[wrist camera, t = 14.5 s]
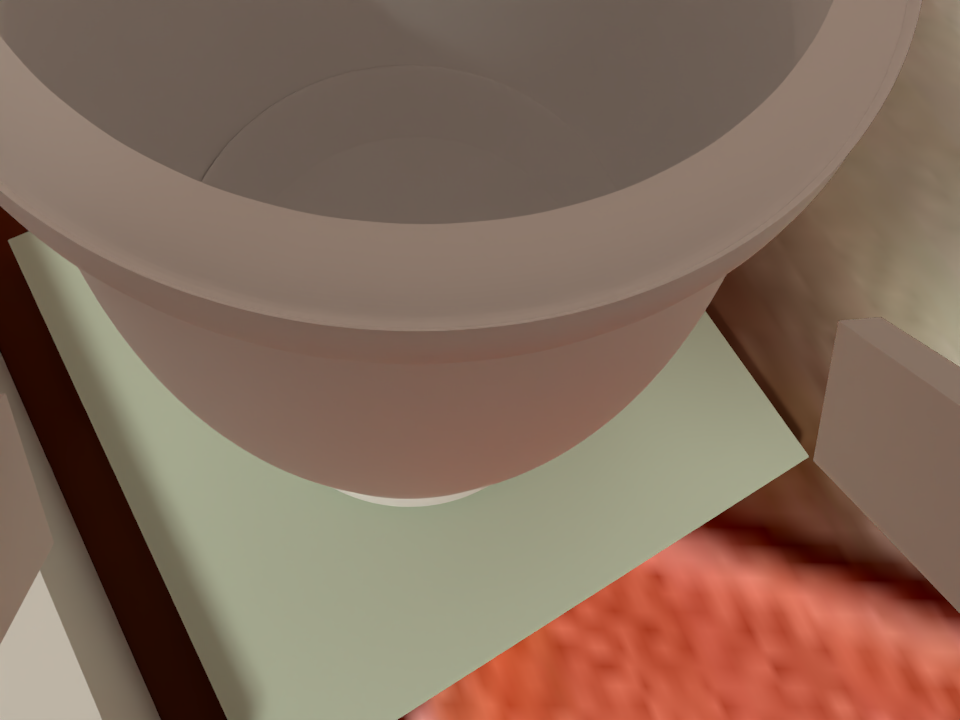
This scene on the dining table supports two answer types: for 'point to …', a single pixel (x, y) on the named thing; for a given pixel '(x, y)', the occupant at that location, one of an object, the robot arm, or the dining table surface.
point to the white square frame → (65, 621)
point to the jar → (423, 202)
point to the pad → (397, 524)
